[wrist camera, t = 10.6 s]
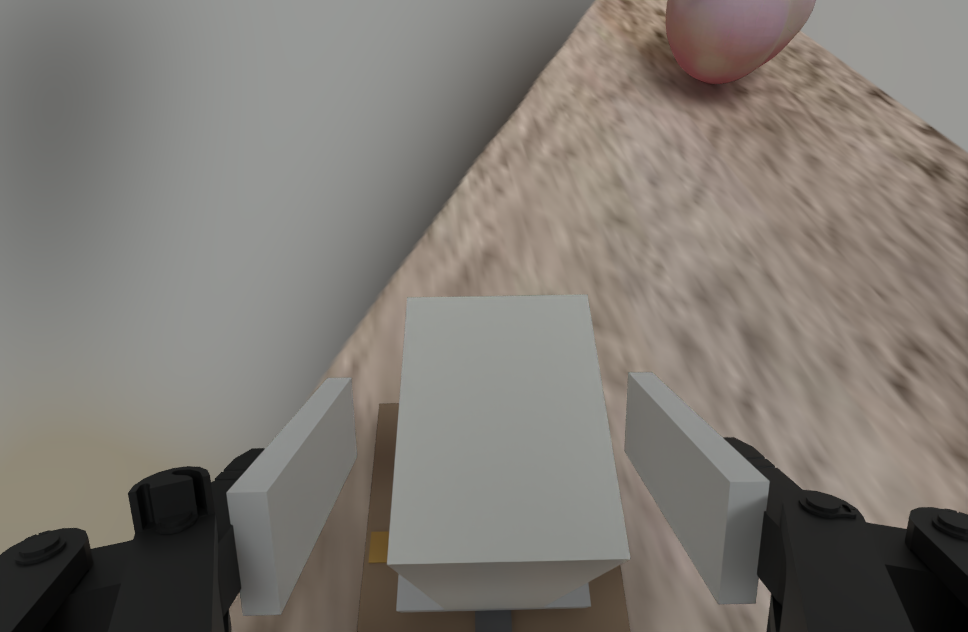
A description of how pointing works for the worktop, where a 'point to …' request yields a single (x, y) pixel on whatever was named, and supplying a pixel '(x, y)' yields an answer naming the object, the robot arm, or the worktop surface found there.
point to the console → (385, 628)
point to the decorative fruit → (731, 34)
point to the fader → (502, 457)
